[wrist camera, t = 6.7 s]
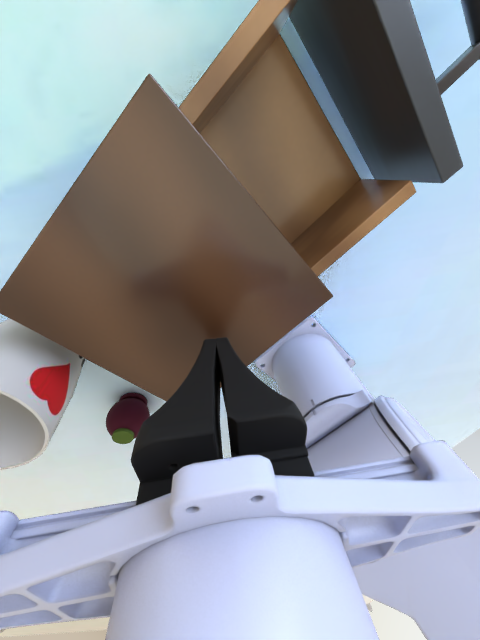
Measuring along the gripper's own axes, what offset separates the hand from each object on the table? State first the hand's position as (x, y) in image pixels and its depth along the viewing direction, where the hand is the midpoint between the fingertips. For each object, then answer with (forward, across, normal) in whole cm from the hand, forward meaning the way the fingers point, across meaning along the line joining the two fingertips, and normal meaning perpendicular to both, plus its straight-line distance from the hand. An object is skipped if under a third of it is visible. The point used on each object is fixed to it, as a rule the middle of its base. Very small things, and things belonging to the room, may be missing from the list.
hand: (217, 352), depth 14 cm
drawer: (+9, -7, -11) cm, 15 cm away
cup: (+10, +14, +3) cm, 18 cm away
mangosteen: (+9, +10, +13) cm, 19 cm away
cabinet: (+9, +2, -3) cm, 10 cm away
